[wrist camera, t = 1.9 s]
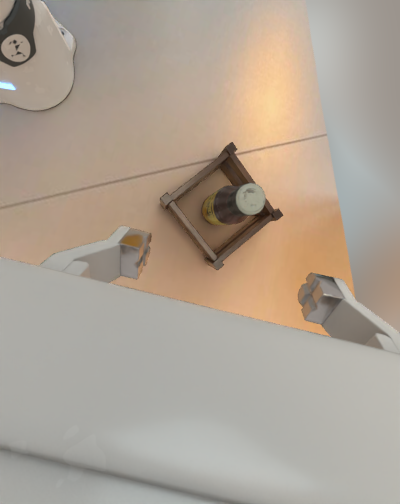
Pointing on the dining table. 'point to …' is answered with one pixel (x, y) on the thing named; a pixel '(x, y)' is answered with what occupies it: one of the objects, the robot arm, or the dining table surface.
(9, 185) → the dining table surface
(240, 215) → the sauce bottle
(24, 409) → the robot arm
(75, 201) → the dining table surface
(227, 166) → the crate
